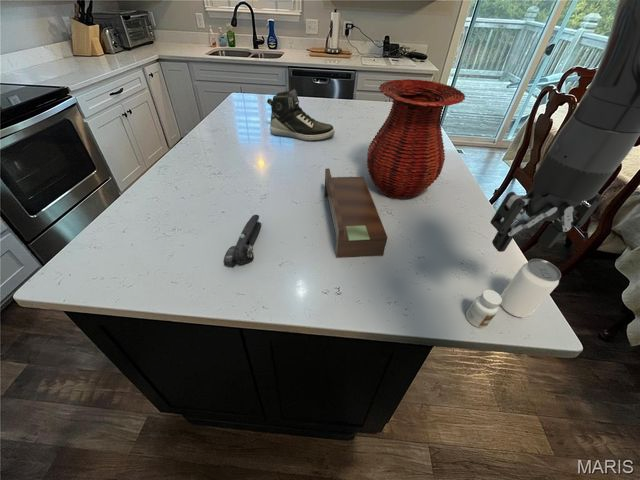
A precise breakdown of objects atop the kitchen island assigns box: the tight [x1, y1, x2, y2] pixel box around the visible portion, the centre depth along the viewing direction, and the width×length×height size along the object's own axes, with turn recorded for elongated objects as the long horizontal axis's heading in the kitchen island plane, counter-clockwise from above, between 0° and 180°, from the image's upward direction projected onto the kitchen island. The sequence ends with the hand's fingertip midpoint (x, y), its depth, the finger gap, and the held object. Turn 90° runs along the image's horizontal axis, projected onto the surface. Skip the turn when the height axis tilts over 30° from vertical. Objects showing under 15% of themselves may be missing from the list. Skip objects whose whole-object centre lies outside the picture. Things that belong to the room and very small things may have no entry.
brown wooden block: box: [323, 168, 388, 259], centre depth 81 cm, size 28×12×9 cm, turn 6°
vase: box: [366, 78, 466, 199], centre depth 88 cm, size 23×24×30 cm
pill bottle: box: [465, 289, 502, 329], centre depth 59 cm, size 4×4×8 cm
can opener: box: [223, 214, 262, 267], centre depth 74 cm, size 18×7×6 cm, turn 171°
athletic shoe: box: [266, 89, 335, 142], centre depth 120 cm, size 10×28×18 cm, turn 79°
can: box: [500, 258, 562, 318], centre depth 60 cm, size 6×6×12 cm
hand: (521, 246), depth 49 cm, fingers open, 8 cm apart
